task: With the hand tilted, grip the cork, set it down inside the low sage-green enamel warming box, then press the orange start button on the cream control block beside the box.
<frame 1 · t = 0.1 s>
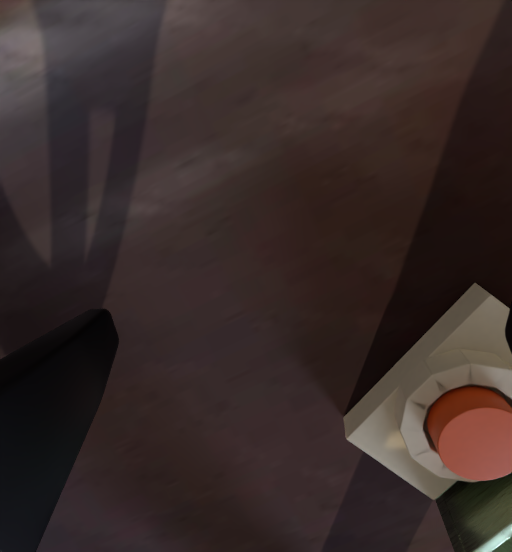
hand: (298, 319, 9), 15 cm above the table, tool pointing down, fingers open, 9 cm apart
start button: (475, 432, 21), point 5 cm above the table, slide at 0.1 cm
control block: (447, 386, 26), on the table
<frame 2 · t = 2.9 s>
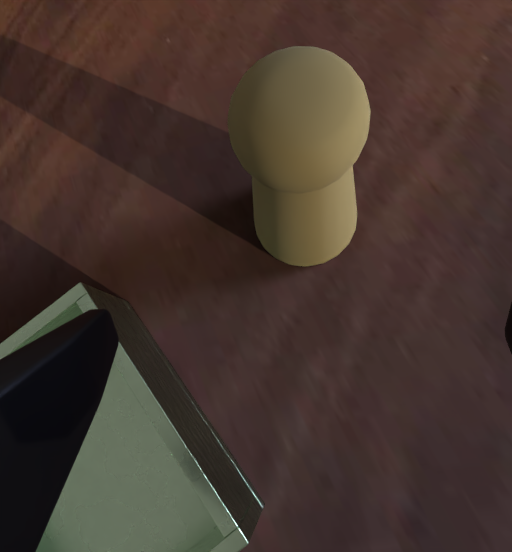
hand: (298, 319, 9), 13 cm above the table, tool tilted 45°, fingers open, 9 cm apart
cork: (304, 218, 24), on the table
warming box: (94, 471, 22), on the table
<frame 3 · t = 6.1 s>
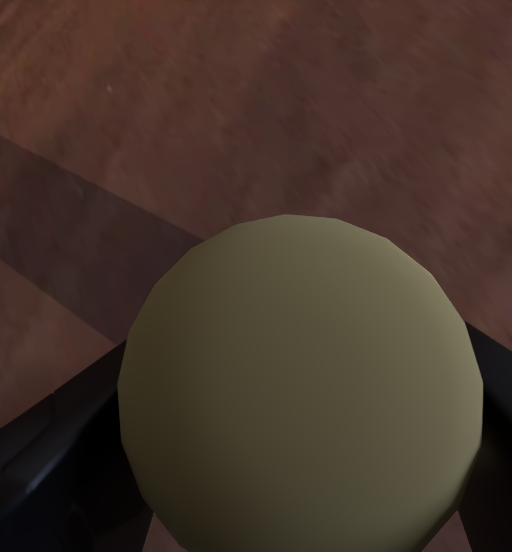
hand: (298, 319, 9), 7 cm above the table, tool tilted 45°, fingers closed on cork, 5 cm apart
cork: (306, 381, 15), on the table, touching gripper
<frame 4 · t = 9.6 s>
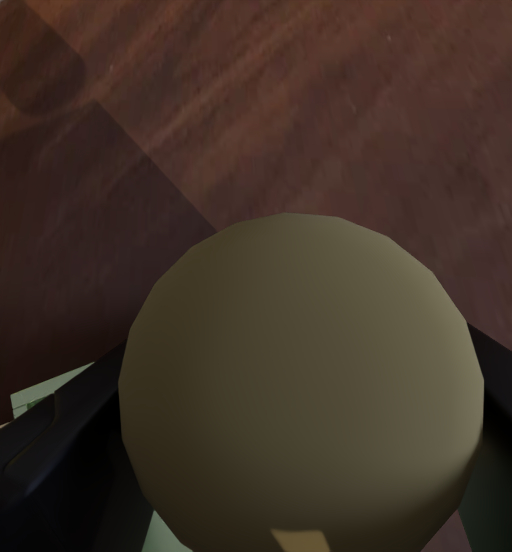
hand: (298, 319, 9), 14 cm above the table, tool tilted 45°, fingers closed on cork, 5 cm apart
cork: (306, 381, 15), point 7 cm above the table, touching gripper
warming box: (215, 468, 22), on the table
when the fingers open (7 cm above the table, at t = 13.2 s): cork stays where it is, resting on warming box.
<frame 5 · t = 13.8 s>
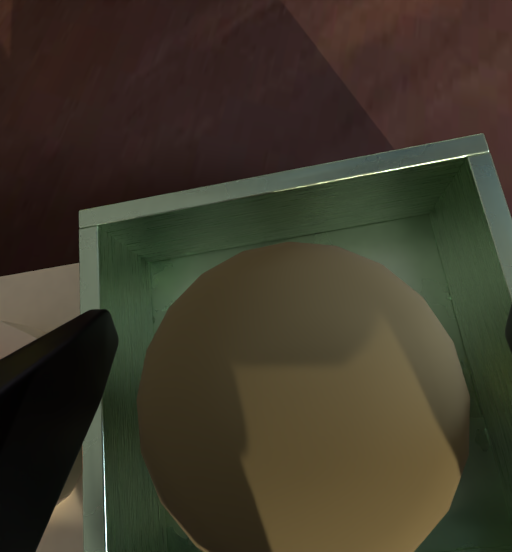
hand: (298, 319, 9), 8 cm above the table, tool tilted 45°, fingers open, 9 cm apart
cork: (307, 388, 16), point 1 cm above the table, touching warming box
control block: (43, 419, 18), on the table
warming box: (307, 383, 16), on the table
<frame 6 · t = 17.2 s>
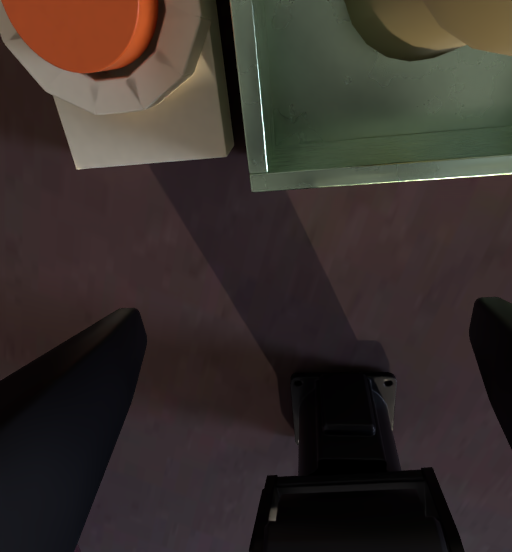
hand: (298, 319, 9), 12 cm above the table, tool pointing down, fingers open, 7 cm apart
control block: (133, 5, 17), on the table
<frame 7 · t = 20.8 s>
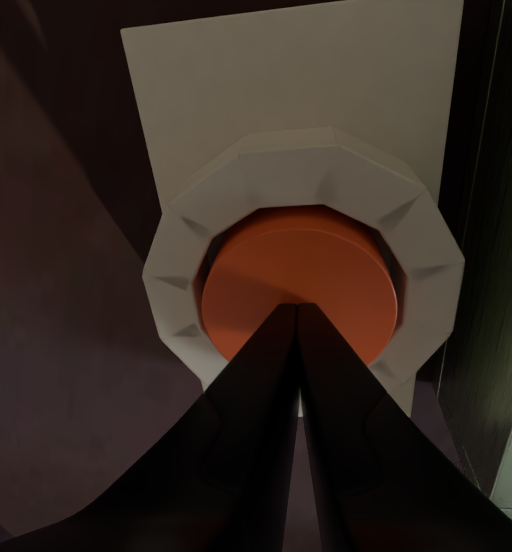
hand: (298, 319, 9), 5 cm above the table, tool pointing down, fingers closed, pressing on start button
start button: (297, 294, 10), point 4 cm above the table, slide at -0.9 cm, touching gripper
control block: (298, 233, 13), on the table
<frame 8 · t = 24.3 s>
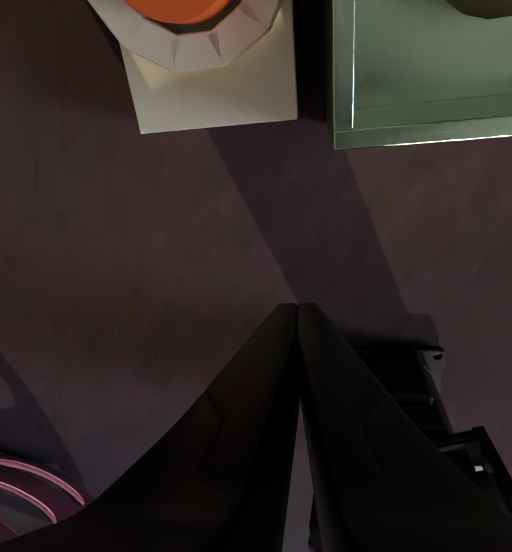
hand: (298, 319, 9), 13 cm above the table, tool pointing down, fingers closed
spiral basket: (35, 484, 38), on the table
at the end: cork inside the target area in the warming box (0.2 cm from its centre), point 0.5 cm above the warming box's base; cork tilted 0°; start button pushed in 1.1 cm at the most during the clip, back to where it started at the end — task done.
